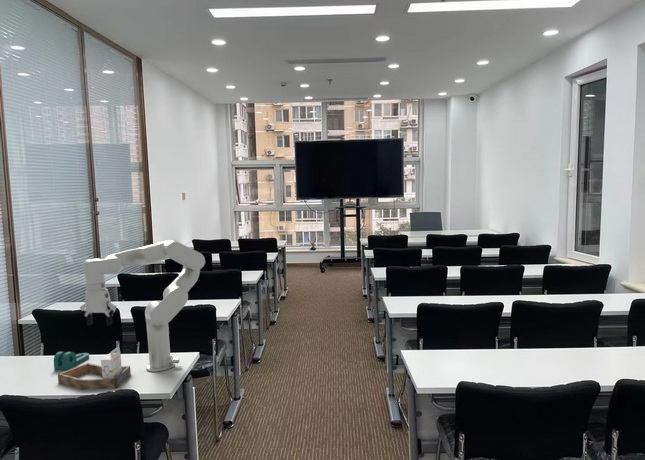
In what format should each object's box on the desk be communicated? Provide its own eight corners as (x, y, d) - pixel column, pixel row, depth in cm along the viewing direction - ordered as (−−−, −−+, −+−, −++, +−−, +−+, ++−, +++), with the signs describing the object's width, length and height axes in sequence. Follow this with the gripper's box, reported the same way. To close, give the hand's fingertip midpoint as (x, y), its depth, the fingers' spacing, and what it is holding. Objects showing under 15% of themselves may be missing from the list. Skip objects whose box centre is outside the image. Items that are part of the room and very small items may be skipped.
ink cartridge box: (111, 377, 206) (109, 346, 204) (122, 377, 206) (120, 345, 204) (102, 385, 197) (99, 352, 196) (113, 385, 197) (111, 352, 196)
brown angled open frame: (136, 369, 215) (135, 360, 215) (116, 388, 194) (116, 379, 194) (73, 371, 215) (72, 363, 214) (47, 391, 194) (46, 382, 193)
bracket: (66, 371, 216) (65, 354, 216) (54, 370, 218) (53, 354, 217) (92, 357, 234) (90, 342, 234) (80, 357, 235) (79, 342, 235)
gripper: (118, 284, 202) (122, 322, 204) (84, 285, 206) (88, 322, 207) (108, 288, 195) (112, 327, 197) (72, 289, 198) (76, 327, 200)
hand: (100, 324), depth 202 cm, fingers open, 9 cm apart
